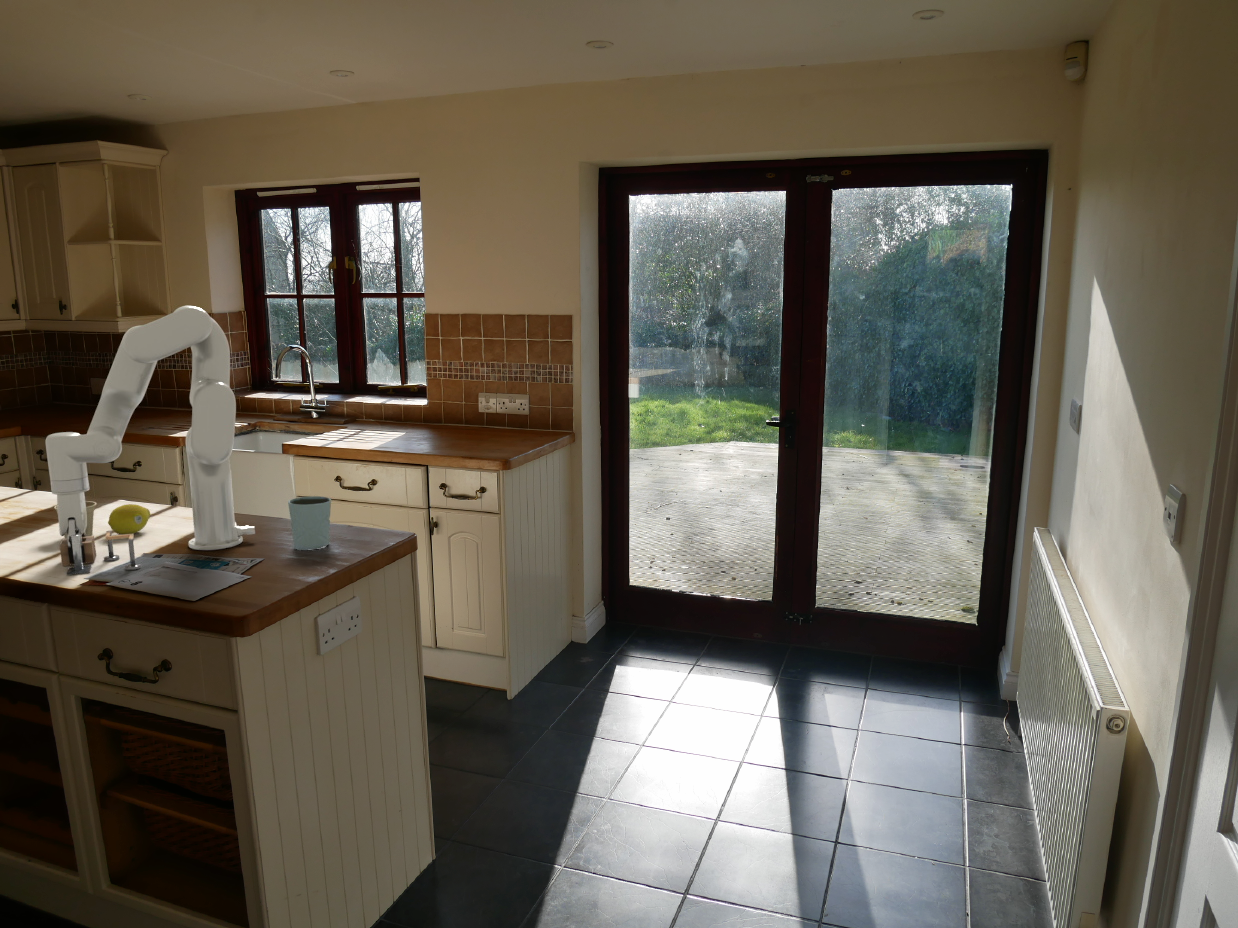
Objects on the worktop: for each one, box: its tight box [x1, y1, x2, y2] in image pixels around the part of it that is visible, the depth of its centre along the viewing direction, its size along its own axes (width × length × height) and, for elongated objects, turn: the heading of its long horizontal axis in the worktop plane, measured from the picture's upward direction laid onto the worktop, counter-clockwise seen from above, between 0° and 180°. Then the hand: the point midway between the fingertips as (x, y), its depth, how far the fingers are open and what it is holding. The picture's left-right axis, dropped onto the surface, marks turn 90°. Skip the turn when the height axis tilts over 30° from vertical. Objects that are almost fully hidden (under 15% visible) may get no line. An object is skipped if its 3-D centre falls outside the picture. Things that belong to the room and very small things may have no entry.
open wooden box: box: [59, 535, 97, 567], centre depth 207 cm, size 6×6×5 cm
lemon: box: [107, 503, 151, 535], centre depth 231 cm, size 11×8×8 cm
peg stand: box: [66, 534, 92, 576], centre depth 199 cm, size 4×4×9 cm
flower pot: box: [53, 500, 98, 539], centre depth 227 cm, size 9×9×9 cm
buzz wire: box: [103, 530, 142, 571], centre depth 205 cm, size 5×14×7 cm, turn 62°
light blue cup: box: [287, 495, 332, 551], centre depth 221 cm, size 10×10×12 cm
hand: (79, 557), depth 208 cm, fingers closed on open wooden box, 6 cm apart
